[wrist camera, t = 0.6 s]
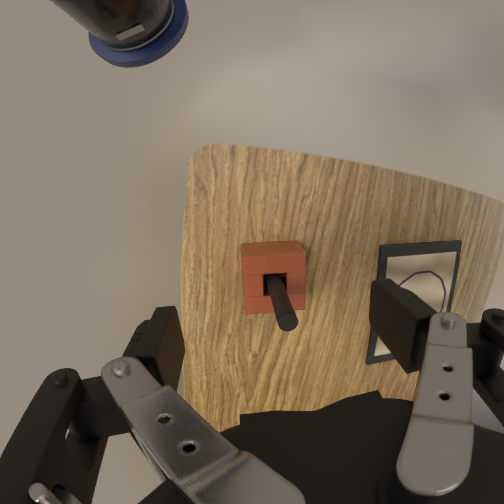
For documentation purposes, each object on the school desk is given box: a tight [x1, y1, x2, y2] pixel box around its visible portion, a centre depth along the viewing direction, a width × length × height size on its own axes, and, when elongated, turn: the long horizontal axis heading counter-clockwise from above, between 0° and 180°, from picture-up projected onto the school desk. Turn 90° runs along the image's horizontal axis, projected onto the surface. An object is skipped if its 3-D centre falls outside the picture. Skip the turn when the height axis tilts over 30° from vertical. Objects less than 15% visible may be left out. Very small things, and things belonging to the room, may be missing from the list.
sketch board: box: [365, 240, 462, 365], centre depth 39 cm, size 18×14×1 cm
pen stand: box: [241, 240, 306, 314], centre depth 34 cm, size 6×6×5 cm
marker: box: [264, 273, 298, 331], centre depth 30 cm, size 2×2×13 cm
